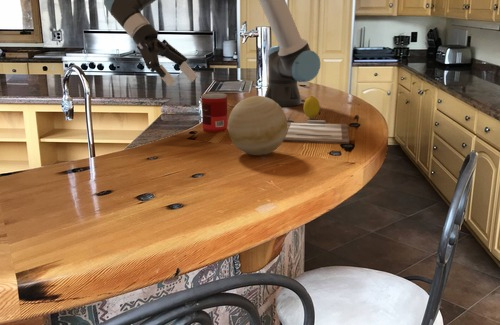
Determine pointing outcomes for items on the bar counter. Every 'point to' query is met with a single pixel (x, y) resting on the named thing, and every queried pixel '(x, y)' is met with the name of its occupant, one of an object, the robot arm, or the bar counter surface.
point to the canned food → (214, 112)
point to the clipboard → (317, 132)
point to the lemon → (311, 107)
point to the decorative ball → (257, 125)
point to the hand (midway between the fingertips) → (184, 81)
